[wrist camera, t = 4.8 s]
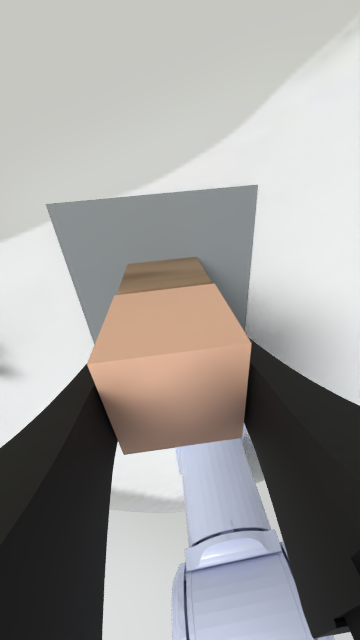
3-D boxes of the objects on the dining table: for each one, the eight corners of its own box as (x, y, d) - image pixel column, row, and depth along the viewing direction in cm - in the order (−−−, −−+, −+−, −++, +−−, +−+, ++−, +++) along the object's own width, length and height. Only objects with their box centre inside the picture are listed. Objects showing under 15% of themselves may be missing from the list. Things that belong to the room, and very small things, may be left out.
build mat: (241, 346, 19) (243, 348, 19) (102, 363, 19) (102, 366, 18) (255, 184, 13) (257, 185, 13) (48, 204, 12) (45, 204, 12)
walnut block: (198, 315, 17) (211, 353, 13) (139, 322, 17) (134, 363, 13) (196, 256, 15) (211, 281, 11) (127, 263, 14) (117, 291, 10)
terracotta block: (215, 359, 12) (242, 437, 8) (134, 370, 12) (123, 454, 8) (214, 283, 10) (251, 343, 6) (114, 295, 10) (86, 364, 6)
